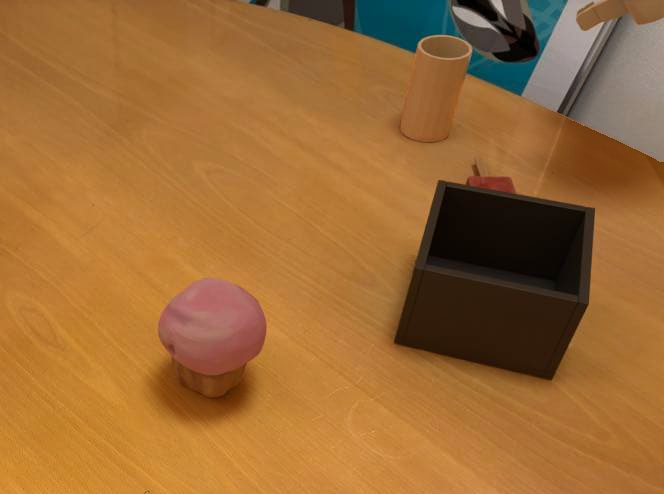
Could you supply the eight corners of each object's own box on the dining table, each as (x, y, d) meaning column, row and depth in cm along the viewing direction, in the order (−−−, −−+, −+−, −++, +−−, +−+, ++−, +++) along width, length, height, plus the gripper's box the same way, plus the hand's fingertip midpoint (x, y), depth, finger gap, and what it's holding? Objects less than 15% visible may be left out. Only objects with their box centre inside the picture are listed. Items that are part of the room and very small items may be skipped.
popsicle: (500, 149, 96) (533, 234, 87) (496, 163, 98) (528, 248, 88) (458, 149, 97) (487, 233, 87) (454, 162, 98) (482, 247, 88)
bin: (561, 284, 84) (595, 207, 77) (552, 380, 76) (589, 304, 69) (417, 254, 87) (438, 179, 81) (393, 343, 79) (414, 267, 73)
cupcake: (209, 332, 81) (214, 246, 73) (280, 381, 76) (293, 294, 69) (139, 381, 77) (136, 295, 70) (210, 435, 73) (215, 349, 65)
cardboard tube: (456, 124, 103) (479, 42, 96) (439, 147, 100) (461, 64, 93) (410, 112, 106) (429, 30, 98) (392, 133, 102) (410, 51, 95)
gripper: (711, -154, 84) (568, -58, 94) (728, -85, 72) (560, 18, 81) (739, -99, 87) (596, -10, 96) (761, -21, 74) (593, 72, 83)
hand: (580, 3), depth 89 cm, fingers open, 8 cm apart
